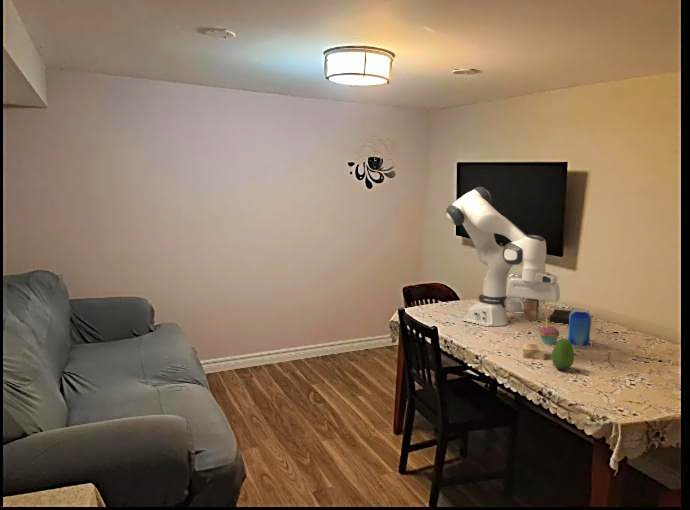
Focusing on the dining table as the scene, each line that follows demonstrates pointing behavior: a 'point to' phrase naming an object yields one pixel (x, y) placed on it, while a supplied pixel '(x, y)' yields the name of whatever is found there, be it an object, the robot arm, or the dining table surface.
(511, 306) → the ramekin
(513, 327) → the dining table surface
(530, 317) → the walnut block
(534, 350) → the oak block
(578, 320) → the beer can
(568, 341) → the avocado
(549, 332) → the cupcake
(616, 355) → the dining table surface
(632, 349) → the dining table surface
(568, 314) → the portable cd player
